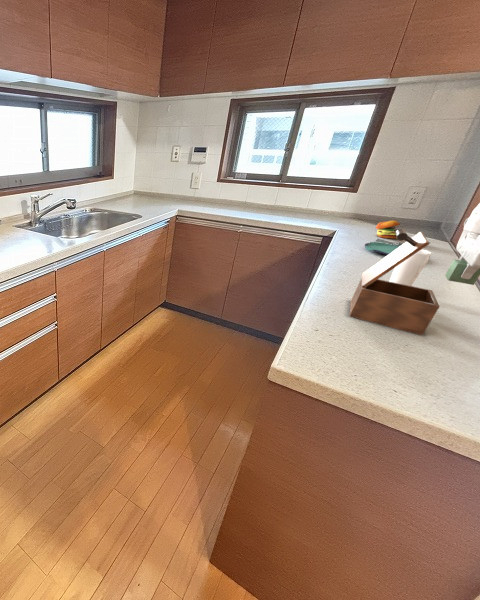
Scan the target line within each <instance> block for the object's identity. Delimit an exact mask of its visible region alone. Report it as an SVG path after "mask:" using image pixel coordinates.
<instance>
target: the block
mask: <svg viewBox="0 0 480 600" xmlns="http://www.w3.org/2000/svg"><path fill="white" fill-rule="evenodd" d="M467 264H468V262H467V261H462V260H459V259H456V258H455V259H453V260H452V262H451V264H450V266H449V267H448V269H447V271H446V273H445V274H444V276H445V278H446V279H447V281H449V282H454V283H459V284H466V285H471V286H474V285H475V284H476V282H477V280H478V279H479V278H480V268H479V269H478V270H477V271H476V272H475V273H474V274H473V275H472V277H471V278H470V279H464V278H461V276H460V275H461V273H462V272H463V271H464V270H465V268H466V267H467Z"/></svg>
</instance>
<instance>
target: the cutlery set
mask: <svg viewBox="0 0 480 600" xmlns="http://www.w3.org/2000/svg"><path fill="white" fill-rule="evenodd" d="M403 244H404V243H402V242H394V241H390V240H389V241H388V240H385V239H382V238H376V239H375V241H370V242H367V243H364V247H365V250H367V251H370V252H375V253H378V254H382V255H386V256H387V255H389V254H390V253H391V252H393V251H394V250H396V249H397V248H398V247H400V246H401V245H403Z"/></svg>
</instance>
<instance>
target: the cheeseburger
mask: <svg viewBox="0 0 480 600" xmlns="http://www.w3.org/2000/svg"><path fill="white" fill-rule="evenodd" d="M397 226H400V222H398V221H397V220H396V219H395V220H388V221H380V222H379V223H377V225H376V226H375V229H377V232H376V236H377V237H379V238H380V239H393V240H398V239H397V237H396V234H395V233H396V231H397V230H399V229H400V228H399V229H398V228H397ZM398 241H399V240H398Z"/></svg>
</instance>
